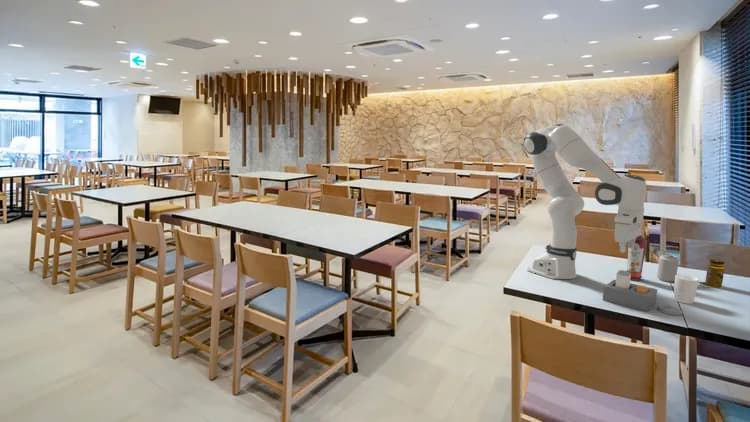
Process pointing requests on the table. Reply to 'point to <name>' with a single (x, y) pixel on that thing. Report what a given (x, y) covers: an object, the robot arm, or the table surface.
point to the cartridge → (623, 279)
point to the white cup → (685, 288)
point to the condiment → (714, 274)
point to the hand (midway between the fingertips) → (626, 249)
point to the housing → (630, 296)
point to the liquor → (636, 257)
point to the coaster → (670, 310)
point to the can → (667, 267)
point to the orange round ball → (642, 288)
